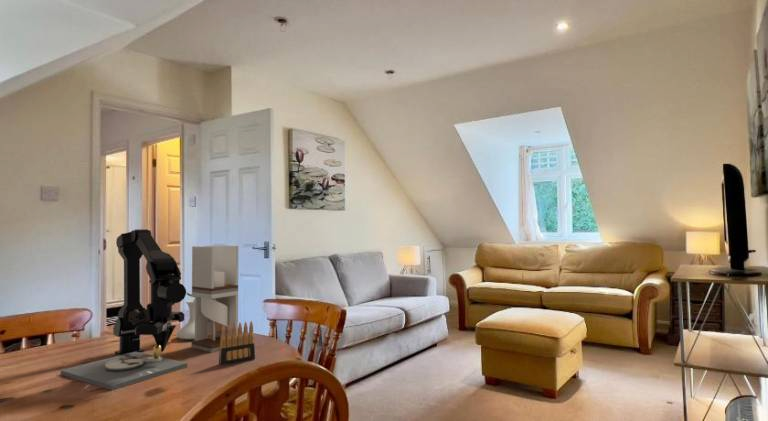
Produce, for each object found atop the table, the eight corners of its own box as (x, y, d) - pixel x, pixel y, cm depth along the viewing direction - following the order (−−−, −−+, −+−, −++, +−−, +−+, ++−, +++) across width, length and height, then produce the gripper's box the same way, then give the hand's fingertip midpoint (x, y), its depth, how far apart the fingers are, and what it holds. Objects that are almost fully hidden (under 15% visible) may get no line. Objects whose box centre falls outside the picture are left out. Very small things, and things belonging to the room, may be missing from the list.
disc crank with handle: (98, 371, 127) (98, 351, 127) (116, 360, 137) (116, 342, 137) (153, 369, 128) (153, 350, 129) (167, 359, 138) (167, 341, 138)
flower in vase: (176, 343, 164) (177, 273, 165) (175, 336, 174) (175, 270, 175) (215, 338, 170) (215, 271, 171) (211, 332, 180) (211, 269, 181)
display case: (191, 347, 158) (192, 246, 159) (218, 340, 167) (218, 245, 168) (211, 352, 151) (212, 247, 153) (237, 345, 160) (238, 245, 161)
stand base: (60, 374, 130) (60, 369, 130) (135, 355, 149) (135, 351, 149) (112, 390, 117) (112, 385, 117) (187, 366, 136) (187, 362, 136)
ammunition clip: (220, 365, 137) (220, 325, 137) (218, 364, 138) (218, 324, 139) (255, 359, 143) (255, 321, 144) (252, 358, 145) (253, 320, 145)
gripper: (150, 294, 145) (150, 343, 145) (116, 305, 127) (115, 361, 126) (185, 293, 145) (185, 342, 145) (156, 305, 127) (156, 361, 126)
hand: (161, 351), depth 136 cm, fingers closed
